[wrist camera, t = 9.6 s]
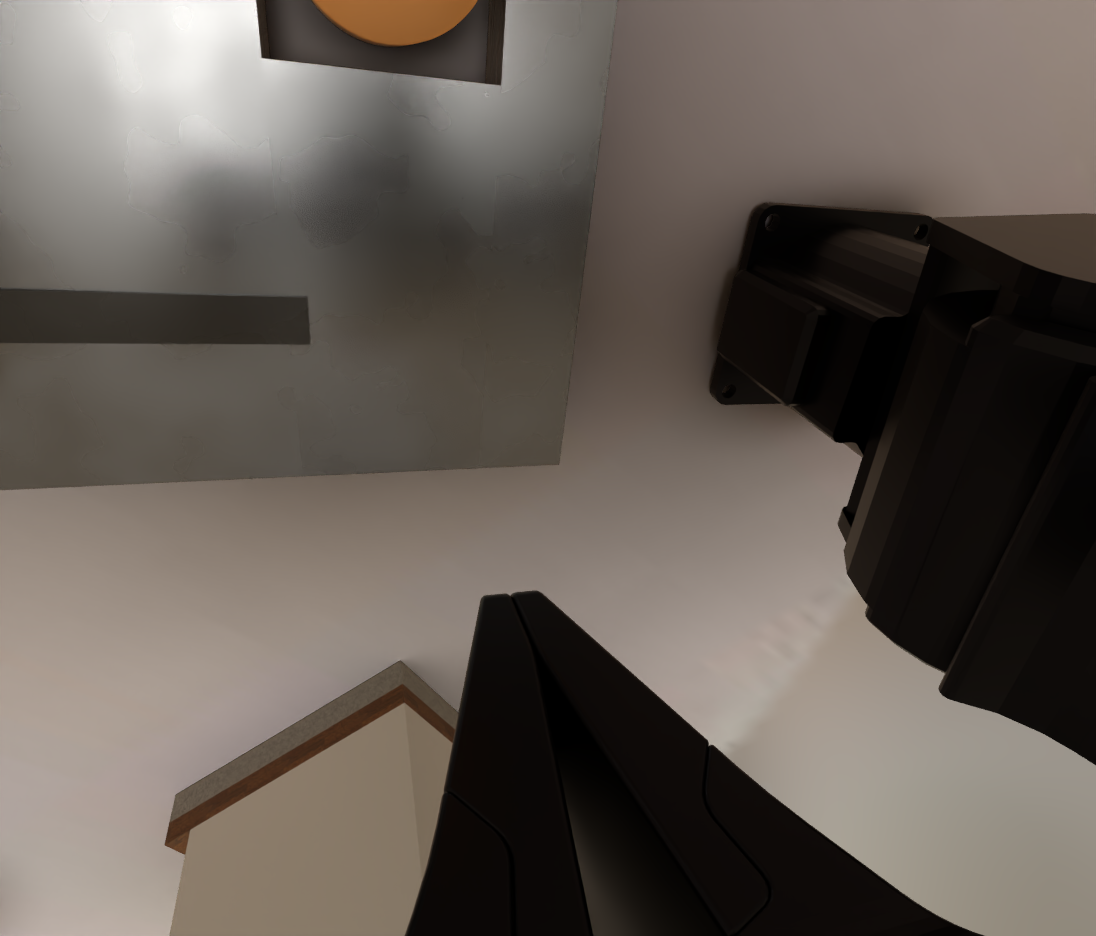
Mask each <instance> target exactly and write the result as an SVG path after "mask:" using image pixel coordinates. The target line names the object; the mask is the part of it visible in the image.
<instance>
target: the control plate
mask: <svg viewBox="0 0 1096 936" xmlns="http://www.w3.org/2000/svg"><path fill="white" fill-rule="evenodd" d="M617 2H618V0H489V16H488V37H487V59H486V80H485V83H480V82H472V81H463V80H454V79H445V78H437V77H428V76H419V75H411V74H402V73H393V72H384V71H376V70H367V69H358V68H349V67H341V66H332V65H323V64H314V63H306V62H297V61H288V60H280V59H271V58H270V51H269V40H268V30H267V19H266V8H265V0H0V490H14V489H36V488H57V487H79V486H101V485H123V484H144V483H166V482H188V481H210V480H231V479H253V478H275V477H297V476H318V475H340V474H362V473H384V472H405V471H427V470H449V469H471V468H493V467H514V466H536V465H558V464H559V461H560V453H561V445H562V437H563V429H564V421H565V414H566V406H567V398H568V390H569V382H570V374H571V366H572V358H573V350H574V342H575V334H576V327H577V319H578V311H579V303H580V295H581V287H582V279H583V271H584V263H585V255H586V247H587V240H588V232H589V224H590V216H591V208H592V200H593V192H594V184H595V176H596V168H597V160H598V153H599V145H600V137H601V129H602V121H603V113H604V105H605V97H606V89H607V81H608V73H609V66H610V58H611V50H612V42H613V34H614V26H615V18H616V10H617Z"/></svg>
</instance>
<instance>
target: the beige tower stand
mask: <svg viewBox="0 0 1096 936" xmlns="http://www.w3.org/2000/svg"><path fill="white" fill-rule="evenodd" d="M457 718H458V712H457V711H456V710H454V709H453V708H452V707H451V706H450V705H449V704H448V703H447V702H446V701H444V700H443V699H442V698H441V697H440V696H439V695H438V694H437V693H436V692H434V691H433V690H432V689H431V688H430V687H429V686H428V685H427V684H426V683H424V682H423V681H422V680H421V679H420V678H419V677H418V676H417V675H416V674H415V673H413V672H412V671H411V670H410V669H409V668H408V667H407V666H406V665H405V664H403V663H402V662H401V661H399V662H397V663H396V664H394V665H392V666H391V667H389V668H387V669H386V670H384V671H382V672H381V673H379V674H377V675H376V676H374V677H372V678H370V679H369V680H367V681H365V682H364V683H362V684H360V685H359V686H357V687H355V688H354V689H352V690H350V691H349V692H347V693H345V694H344V695H342V696H340V697H339V698H337V699H335V700H334V701H332V702H330V703H329V704H327V705H325V706H324V707H322V708H320V709H319V710H317V711H315V712H314V713H312V714H310V715H309V716H307V717H305V718H304V719H302V720H300V721H299V722H297V723H295V724H294V725H292V726H290V727H289V728H287V729H285V730H284V731H282V732H280V733H279V734H277V735H275V736H274V737H272V738H270V739H269V740H267V741H265V742H263V743H262V744H260V745H258V746H257V747H255V748H253V749H252V750H250V751H248V752H247V753H245V754H243V755H242V756H240V757H238V758H237V759H235V760H233V761H232V762H230V763H228V764H227V765H225V766H223V767H222V768H220V769H218V770H217V771H215V772H213V773H212V774H210V775H208V776H207V777H205V778H203V779H202V780H200V781H198V782H197V783H195V784H193V785H192V786H190V787H188V788H187V789H185V790H183V791H182V792H180V793H178V794H177V795H176V796H175V801H174V805H173V810H172V814H171V819H170V823H169V827H168V832H167V836H166V841H165V846H167V847H170V848H172V849H174V850H176V851H178V852H180V853H182V854H185V859H184V864H183V869H182V874H181V880H180V885H179V890H178V895H177V900H176V905H175V910H174V915H173V920H172V926H171V931H170V936H404V935H405V933H406V930H407V927H408V924H409V921H410V918H411V915H412V912H413V908H414V905H415V902H416V899H417V896H418V892H419V889H420V886H421V883H422V879H423V876H424V873H425V870H426V866H427V862H428V858H429V853H430V849H431V845H432V841H433V836H434V832H435V828H436V824H437V819H438V813H439V808H440V803H441V798H442V795H443V793H444V785H445V779H446V774H447V769H448V764H449V759H450V754H451V749H452V744H453V739H454V733H455V728H456V723H457Z"/></svg>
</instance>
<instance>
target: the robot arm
mask: <svg viewBox="0 0 1096 936" xmlns="http://www.w3.org/2000/svg"><path fill="white" fill-rule="evenodd" d="M771 214H773V221H772V223H771V225H770V226H769V227H768V228H765V221H766V219H767V217H768V216H770V215H771ZM918 226H919V230H918V232H917V234H916V235H914V232H915V230H916V228H917V227H918ZM929 244H930V246H929ZM928 246H929V247H928ZM717 350H718V352H719V354H718V358H717V362H716V366H715V370H714V374H713V379H712V383H711V387H710V392H711V395H712V397H714V398H715V399H716V400H717V401H718V402H719V403H721V404H725V405H734V404H780V403H782V404H783V405H785V406H789V407H791V408H792V409H793V410H795V411H796V412H797V413H799V414H800V415H801V416H802V417H804V418H805V419H806V420H808V421H809V422H810V423H811V424H813V425H814V426H815V427H817V428H818V429H819V430H821V431H822V432H823V433H824V434H826V435H827V436H828V437H830V438H831V439H832V440H833V441H835V442H838V443H844V444H845V445H847V446H848V447H849V448H851V449H852V450H853V451H855V452H856V453H857V454H859V455H860V456H861V457H862V461H861V464H860V467H859V470H858V474H857V477H856V480H855V483H854V486H853V489H852V493H851V496H850V499H849V502H848V505H847V506H846V507H844V508H843V509H842V512H841V515H840V518H839V521H838V527H839V529H840V531H841V533H842V535H843V537H844V539H845V541H846V546H845V549H844V556H845V563H846V570H847V575H848V576H849V578H850V579H851V581H852V583H853V584H854V586H855V587H856V589H857V590H858V592H859V594H860V595H861V597H862V598H863V600H864V601H865V602H866V604H867V605H868V606H867V609H866V611H865V614H866V617H867V619H868V620H869V621H870V622H871V623H872V624H873V625H874V626H875V627H876V628H877V629H878V630H880V631H881V632H882V633H883V634H884V635H885V636H886V637H888V638H889V639H890V640H891V641H892V642H893V643H894V644H896V645H897V646H899V647H900V648H901V649H903V650H905V651H906V652H908V653H909V654H911V655H912V656H914V657H915V658H917V659H918V660H920V661H922V662H923V663H925V664H926V665H929V666H931V667H933V668H935V669H937V670H939V671H941V672H943V673H945V675H944V677H943V679H942V681H941V683H940V685H939V691H940V693H941V694H942V695H943V696H945V697H946V698H947V699H950V700H953V701H957V702H960V703H964V704H967V705H971V706H974V707H978V708H981V709H985V710H988V711H992V712H995V713H998V714H1000V715H1003V716H1005V717H1007V718H1009V719H1012V720H1014V721H1016V722H1018V723H1021V724H1023V725H1025V726H1027V727H1029V728H1032V729H1034V730H1036V731H1039V732H1041V733H1043V734H1045V735H1047V736H1048V737H1050V738H1052V739H1053V740H1055V741H1057V742H1059V743H1060V744H1062V745H1064V746H1066V747H1067V748H1069V749H1071V750H1072V751H1074V752H1076V753H1077V754H1079V755H1081V756H1082V757H1084V758H1085V759H1087V760H1088V761H1090V762H1092V763H1093V764H1095V765H1096V214H1048V215H1011V216H974V217H938V218H933V219H932V217H929V216H926V215H923V214H919V213H907V212H894V211H880V210H867V209H853V208H839V207H826V206H812V205H799V204H785V203H771V202H769V203H764V204H762V205H761V206H759V207H758V208H757V209H756V210H755V212H754V213H753V216H752V218H751V222H750V226H749V230H748V234H747V238H746V242H745V246H744V251H743V255H742V259H741V263H740V267H739V271H738V273H737V275H736V276H735V277H734V280H733V284H732V289H731V293H730V297H729V301H728V305H727V309H726V314H725V318H724V322H723V326H722V330H721V334H720V339H719V343H718V347H717ZM727 385H730V388H729V390H728V391H726V392H725V393H722V391H723V389H724V388H725V387H726V386H727ZM708 745H709V743H708V740H707V739H706V738H704V737H703V736H702V735H701V734H700V733H699V732H698V731H697V730H695V729H694V728H693V727H692V726H691V725H690V724H689V723H688V722H686V721H685V720H684V719H683V718H682V717H681V716H680V715H679V714H677V713H676V712H675V711H674V710H673V709H672V708H671V707H670V706H668V705H667V704H666V703H665V702H664V701H663V700H662V699H661V698H659V697H658V696H657V695H656V694H655V693H654V692H653V691H652V690H650V689H649V688H648V687H647V686H646V685H645V684H644V683H643V682H641V681H640V680H639V679H638V678H637V677H636V676H635V675H634V674H632V673H631V672H630V671H629V670H628V669H627V668H626V667H625V666H623V665H622V664H621V663H620V662H619V661H618V660H617V659H616V658H614V657H613V656H612V655H611V654H610V653H609V652H608V651H607V650H605V649H604V648H603V647H602V646H601V645H600V644H599V643H598V642H596V641H595V640H594V639H593V638H592V637H591V636H590V635H589V634H587V633H586V632H585V631H584V630H583V629H582V628H581V627H580V626H578V625H577V624H576V623H575V622H574V621H573V620H572V619H571V618H569V617H568V616H567V615H566V614H565V613H564V612H563V611H561V610H560V609H559V608H558V607H557V606H556V605H555V604H554V603H552V602H551V601H550V600H549V599H548V598H547V597H546V596H545V595H543V594H542V593H541V592H539V591H525V592H515V593H513V594H512V595H511V596H510V595H508V594H495V595H486V596H483V597H482V598H481V601H480V606H479V611H478V616H477V621H476V626H475V631H474V636H473V642H472V647H471V652H470V657H469V662H468V667H467V672H466V677H465V682H464V688H463V693H462V698H461V703H460V708H459V713H458V718H457V723H456V728H455V733H454V739H453V744H452V749H451V754H450V759H449V764H448V769H447V774H446V779H445V785H444V793H443V795H442V798H441V803H440V808H439V813H438V819H437V824H436V828H435V832H434V836H433V841H432V845H431V849H430V853H429V858H428V862H427V866H426V870H425V873H424V876H423V879H422V883H421V886H420V889H419V892H418V896H417V899H416V902H415V905H414V908H413V912H412V915H411V918H410V921H409V924H408V927H407V930H406V933H405V935H404V936H984V935H981V934H978V933H975V932H972V931H969V930H967V929H965V928H962V927H960V926H957V925H955V924H953V923H951V922H949V921H947V920H945V919H943V918H941V917H939V916H938V915H936V914H934V913H932V912H931V911H929V910H927V909H926V908H924V907H922V906H921V905H919V904H917V903H916V902H914V901H913V900H912V899H910V898H909V897H907V896H906V895H905V894H903V893H902V892H900V891H899V890H898V889H896V888H895V887H894V886H892V885H891V884H889V883H888V882H887V881H885V880H884V879H883V878H881V877H880V876H878V875H877V874H876V873H874V872H873V871H872V870H871V869H869V868H868V867H866V866H865V865H864V864H862V863H861V862H860V861H858V860H857V859H856V858H854V857H853V856H852V855H850V854H849V853H847V852H846V851H845V850H844V849H842V848H841V847H839V846H838V845H837V844H835V843H834V842H833V841H831V840H830V839H829V838H827V837H826V836H825V835H823V834H822V833H821V832H819V831H818V830H817V829H815V828H814V827H813V826H811V825H810V824H808V823H807V822H806V821H805V820H803V819H802V818H801V817H799V816H798V815H796V814H795V813H794V812H793V811H792V810H790V809H789V808H788V807H786V806H785V805H784V804H783V803H781V802H780V801H779V800H777V799H776V798H775V797H774V796H772V795H771V794H770V793H768V792H767V791H766V790H765V789H764V788H762V787H761V786H760V785H759V784H758V783H756V782H755V781H754V780H753V779H752V778H750V777H749V776H748V775H747V774H746V773H745V772H743V771H742V770H741V769H740V768H739V767H738V766H736V765H735V764H734V763H733V762H732V761H731V760H730V759H728V758H727V757H726V756H725V755H724V754H723V753H722V752H721V751H719V750H718V749H717V748H716V747H715V746H714V745H710V746H709V747H708Z"/></svg>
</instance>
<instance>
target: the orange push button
mask: <svg viewBox="0 0 1096 936" xmlns="http://www.w3.org/2000/svg"><path fill="white" fill-rule="evenodd" d="M311 1H312V2H313V3H314V5H315V6H316V7H317V8H318V9H319V11H320V12H321V13H322V14H323V15H324V16H325V17H326V18H327V19H328V20H329V21H331V22H332V23H333V24H334V25H335V26H336V27H338V28H339V29H341V30H342V31H344V32H345V33H347V34H348V35H350V36H352V37H354V38H356V39H358V40H361V41H364V42H366V43H369V44H373V45H378V46H384V47H399V46H407V45H412V44H416V43H420V42H424V41H428V40H431V39H433V38H436V37H438V36H440V35H442V34H444V33H446V32H447V31H449V30H450V29H452V28H453V27H455V26H456V25H457V24H458V23H459V22H460V21H461V20H462V19H464V18H465V16H466V15H467V14H468V13H469V12H470V11H471V9H472V8H473V7H474V5H475V4H476V2H477V1H478V0H311Z"/></svg>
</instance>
